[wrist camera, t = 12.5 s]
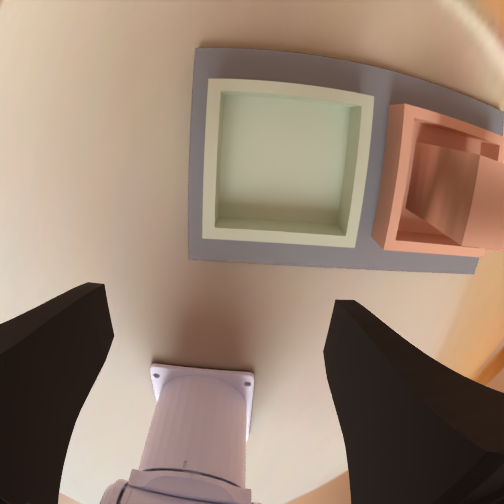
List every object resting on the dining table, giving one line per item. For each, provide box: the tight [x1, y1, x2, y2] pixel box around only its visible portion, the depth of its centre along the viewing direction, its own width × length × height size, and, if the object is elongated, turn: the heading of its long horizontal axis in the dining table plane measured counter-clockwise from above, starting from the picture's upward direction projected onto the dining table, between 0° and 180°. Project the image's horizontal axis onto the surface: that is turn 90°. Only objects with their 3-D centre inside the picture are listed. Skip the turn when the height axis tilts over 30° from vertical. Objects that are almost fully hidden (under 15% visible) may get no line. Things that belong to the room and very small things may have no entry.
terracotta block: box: [405, 142, 504, 251], centre depth 13 cm, size 4×4×6 cm
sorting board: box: [188, 48, 504, 274], centre depth 15 cm, size 12×20×3 cm, turn 86°
